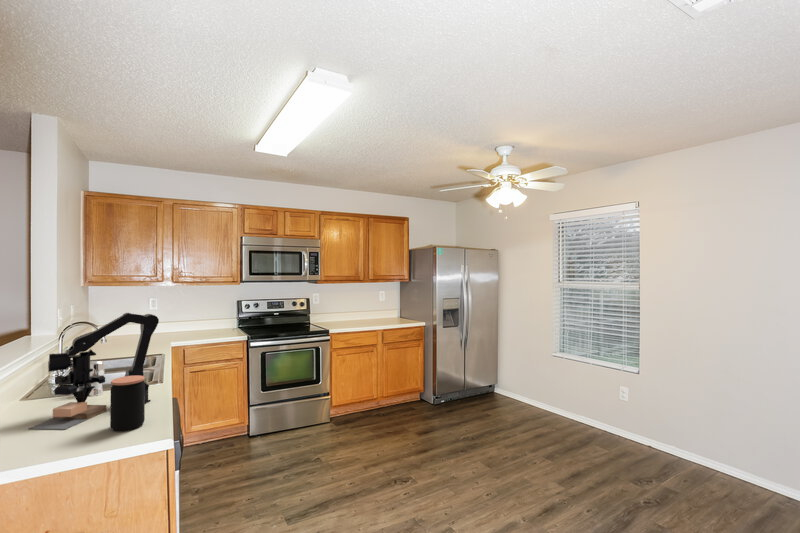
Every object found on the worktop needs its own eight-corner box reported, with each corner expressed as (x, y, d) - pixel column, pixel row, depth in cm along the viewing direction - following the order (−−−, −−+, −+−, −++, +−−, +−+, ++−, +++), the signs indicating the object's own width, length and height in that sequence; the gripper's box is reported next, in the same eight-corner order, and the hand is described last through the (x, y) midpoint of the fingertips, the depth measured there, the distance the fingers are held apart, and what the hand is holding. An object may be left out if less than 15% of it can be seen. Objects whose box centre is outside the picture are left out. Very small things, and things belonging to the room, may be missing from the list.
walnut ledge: (106, 411, 169) (106, 405, 169) (86, 419, 159) (86, 413, 159) (74, 410, 169) (74, 404, 169) (52, 419, 159) (52, 413, 159)
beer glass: (94, 396, 188) (94, 364, 188) (82, 395, 189) (82, 363, 189) (108, 392, 194) (108, 361, 195) (96, 391, 196) (96, 360, 196)
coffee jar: (151, 423, 155) (151, 376, 155) (124, 434, 145) (124, 384, 145) (131, 420, 159) (131, 374, 159) (103, 430, 149) (103, 381, 149)
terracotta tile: (87, 409, 163) (87, 402, 163) (70, 416, 155) (70, 409, 155) (70, 409, 163) (70, 402, 163) (52, 416, 155) (52, 408, 155)
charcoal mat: (86, 419, 159) (86, 418, 159) (64, 429, 149) (64, 428, 149) (52, 419, 159) (52, 418, 159) (28, 429, 149) (28, 428, 149)
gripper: (81, 361, 174) (81, 398, 174) (41, 373, 156) (40, 413, 156) (106, 362, 174) (106, 398, 174) (68, 373, 155) (68, 414, 155)
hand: (80, 405), depth 164 cm, fingers closed
